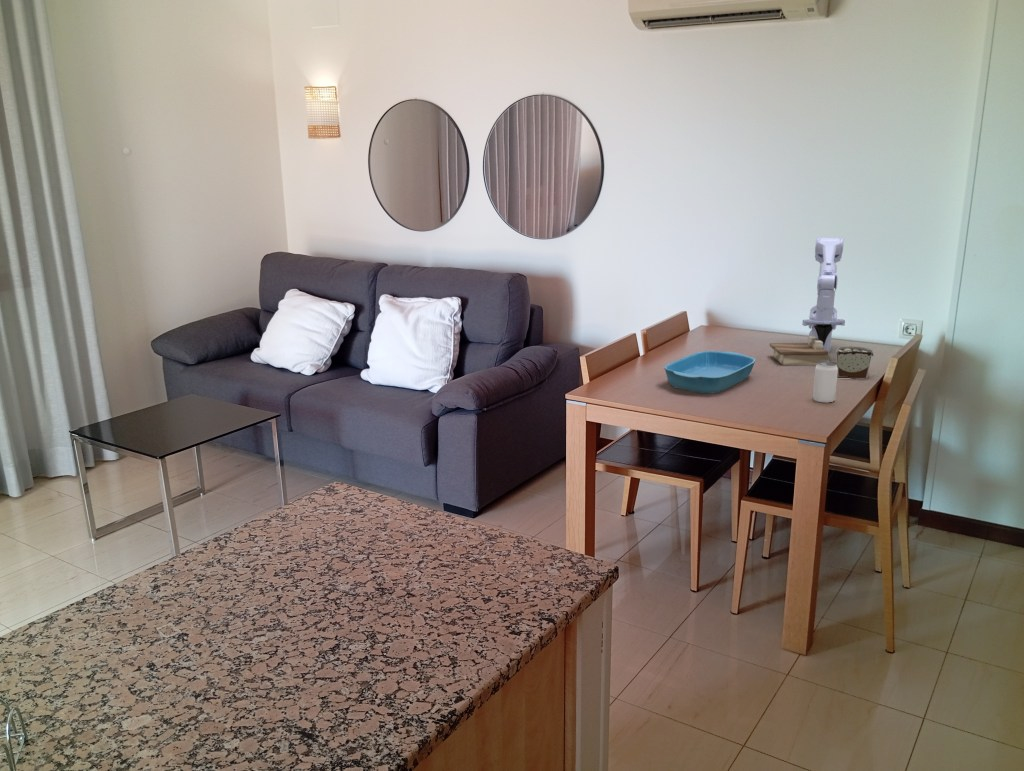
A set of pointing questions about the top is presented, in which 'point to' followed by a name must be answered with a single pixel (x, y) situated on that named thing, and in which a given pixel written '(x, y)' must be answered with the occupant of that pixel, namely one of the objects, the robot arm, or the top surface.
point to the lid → (800, 347)
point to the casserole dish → (709, 371)
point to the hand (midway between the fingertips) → (821, 344)
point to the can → (825, 381)
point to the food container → (853, 361)
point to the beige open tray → (800, 359)
